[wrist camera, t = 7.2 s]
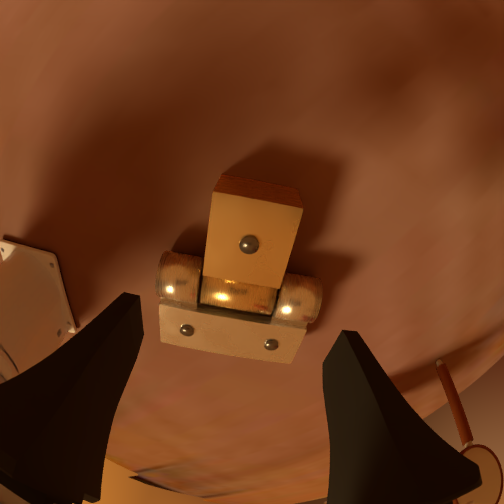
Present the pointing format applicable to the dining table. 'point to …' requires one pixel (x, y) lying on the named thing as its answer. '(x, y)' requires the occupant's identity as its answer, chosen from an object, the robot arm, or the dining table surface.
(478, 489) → the magnifying glass
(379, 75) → the dining table surface
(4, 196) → the dining table surface
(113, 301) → the robot arm
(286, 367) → the dining table surface
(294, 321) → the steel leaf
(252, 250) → the wooden block with screw
